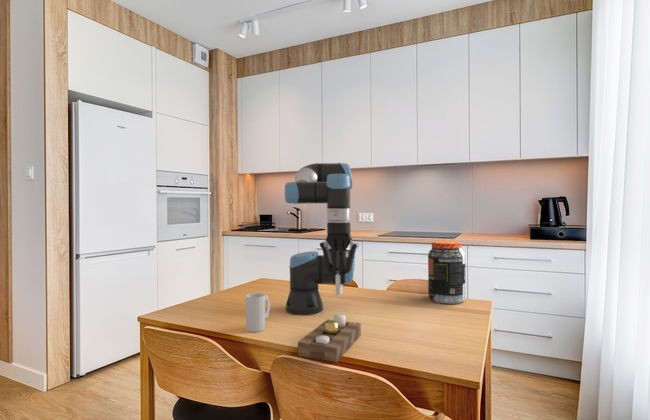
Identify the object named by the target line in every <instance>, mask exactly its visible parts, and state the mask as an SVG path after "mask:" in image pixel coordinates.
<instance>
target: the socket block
mask: <svg viewBox="0 0 650 420" xmlns="http://www.w3.org/2000/svg"><path fill="white" fill-rule="evenodd" d="M326 321H333V319H329V318H328V319H326V320H325V321H324V322H321V324H319V325H318V326H317V327H315V328H313V330H311V331H310V332H309V333H307V334H306V335H305V336H304V337H303V338H301V339H300V340H299V341H297V355H298V356H299V357H305V358H310V359H316V360H322V361H328V362H333V363H338V362H339V361H340V359H341V358H342V357H343V356H344V355H345V354H346V353H347V351H348V350H350V349H351V347H352V346H353V345H354V344H355V343H356V342H357V341H358V340H359V338H361V336H362V334H361V333H362V329H361V328H362V325H361V323H360V322H359V323H358V322H351V321H349V322H348V321H346V327H345V328H338V334H337V335H336V336H335V335H328V334H325V322H326ZM321 335H324V336H328V337H329V342H328V343H327V344H324V343H318V342H316V337H317V336H321Z"/></svg>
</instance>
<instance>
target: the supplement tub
mask: <svg viewBox="0 0 650 420" xmlns="http://www.w3.org/2000/svg"><path fill="white" fill-rule="evenodd" d="M427 260H428V261H427V267H428V268H427V269H428V271H427V273H428V275H427V276H428V278H427V279H428V282H427V283H428V286H427V287H428V298H429V299H430V300H431V301H433V302H435V303H440V304H451V305H453V304H461V303H464V302H465V301H466V294H467V293H466V290H467V289H466V254H465V252H464V251H463V248H462V242H461V241H459V240H457V241H455V240H435V241H434V240H433V241H432V242H431V249H430V250H429V252H428V255H427Z"/></svg>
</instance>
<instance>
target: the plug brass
mask: <svg viewBox="0 0 650 420" xmlns="http://www.w3.org/2000/svg"><path fill="white" fill-rule="evenodd" d="M325 321H326V320H325ZM325 321H324V322H325ZM325 334H328V335H335V336H336V335H337V334H338V322H337V321H326V322H325Z"/></svg>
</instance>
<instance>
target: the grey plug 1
mask: <svg viewBox="0 0 650 420" xmlns="http://www.w3.org/2000/svg"><path fill="white" fill-rule="evenodd" d="M316 342H318V343H324V344H327V343H328V342H329V337H328V336H324V335H321V336H317V337H316Z"/></svg>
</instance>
